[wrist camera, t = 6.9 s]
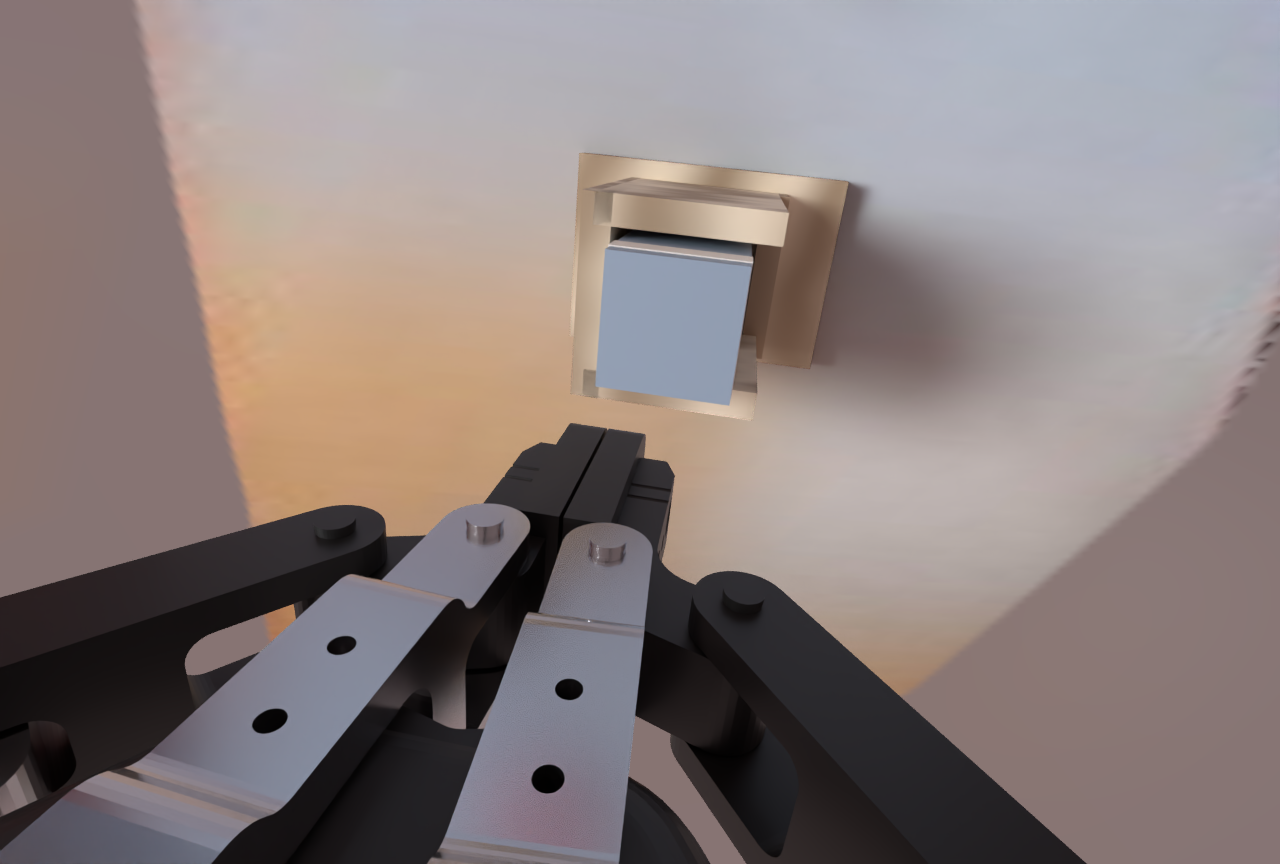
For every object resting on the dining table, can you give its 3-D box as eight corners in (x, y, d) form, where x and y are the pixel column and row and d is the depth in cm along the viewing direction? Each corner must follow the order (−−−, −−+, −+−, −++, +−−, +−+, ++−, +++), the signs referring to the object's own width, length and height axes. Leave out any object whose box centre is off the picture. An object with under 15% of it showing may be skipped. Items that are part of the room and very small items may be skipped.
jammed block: (752, 222, 35) (753, 265, 22) (737, 317, 37) (730, 407, 24) (656, 211, 35) (603, 247, 23) (647, 305, 38) (593, 387, 25)
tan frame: (845, 180, 35) (891, 197, 23) (808, 362, 39) (831, 452, 27) (584, 152, 36) (507, 155, 25) (574, 331, 40) (504, 404, 29)
